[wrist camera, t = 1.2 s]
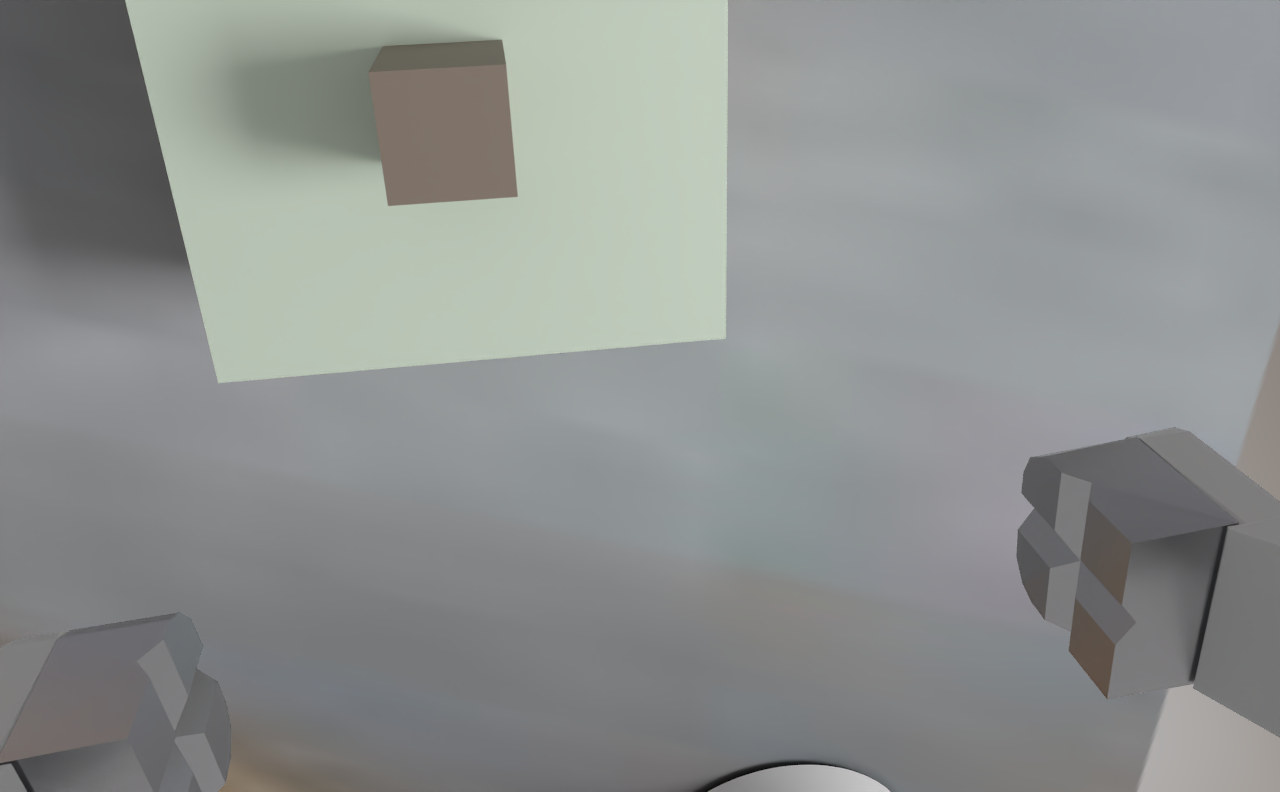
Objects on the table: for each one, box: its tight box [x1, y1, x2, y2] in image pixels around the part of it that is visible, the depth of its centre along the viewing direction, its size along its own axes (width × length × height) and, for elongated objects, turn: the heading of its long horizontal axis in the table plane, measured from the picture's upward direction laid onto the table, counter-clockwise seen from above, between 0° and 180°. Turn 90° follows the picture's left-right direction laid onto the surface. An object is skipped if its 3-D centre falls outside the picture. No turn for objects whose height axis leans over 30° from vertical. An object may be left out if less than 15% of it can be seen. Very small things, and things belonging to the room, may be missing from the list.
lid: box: [125, 0, 728, 383], centre depth 25 cm, size 15×15×5 cm
